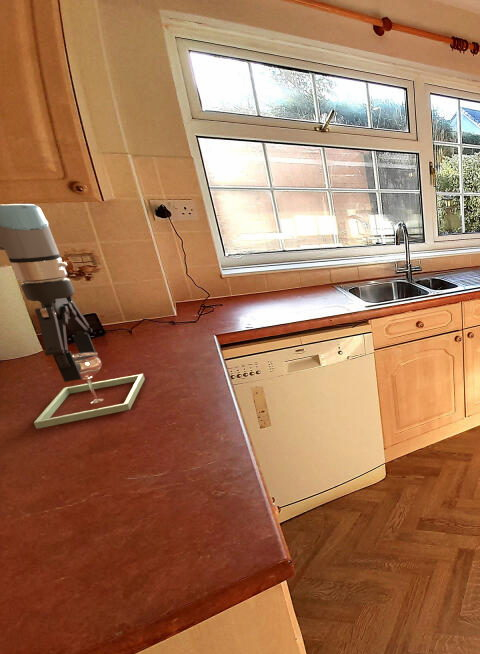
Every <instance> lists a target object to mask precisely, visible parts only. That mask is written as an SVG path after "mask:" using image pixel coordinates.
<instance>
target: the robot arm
mask: <svg viewBox="0 0 480 654" xmlns="http://www.w3.org/2000/svg"><path fill="white" fill-rule="evenodd" d="M49 225H50V224H49V221H48V220H47V218H46V216H45V213H44V212H43V211H42V209H41V207H39V205H37V204H33V203H7V204H3V203H2V204H0V251H5V254H6V256H7V258H8V261H9V263H10V265H11V268H12V270H13V272H14V275H15V277H16V280H17V281H19V282H22V283H21V284H20V288H21V289H22V292H23V295H24V297H25V299H26V300H27V301H30V302H39V303H40V305H41V307H39V308H35V309H34V312H35V314H36V316H37V319H38V323H39V327H40V332H41V337H42V342H43V347H44V351H45V352H44V354H45V356H46V357H49V356H52V357H53V359H54V361H55V363H56V366H57V368H58V370H59V372H60V375H61V377H62V379H63V382H64V383H67V382H73V381H79V380H83V379H82V376H81V374H80V372H79V369H78V367H77V365H76V362H75V360H74V358H73V353H72V351H71V350H70V351H69V347H68V337H67V328H68V330H69V331H70V332H71V333H72V338H73V342H74V344H75V346H76V348H77V351H78V353H84V352H97V351H96V349H95V346H94V344H93V342H92V338H91V336H90V334H89V333H93V328H92V327H90V324H89V323H88V321H87V320H86V318H85V317H84V315H83V314H82V312H81V310H80V309H79V307H78V305H77V304H76V302H75V300H74V298H73V296H74V295H75V294H76V291H75V288H74V286H73V283H72V282H71V279H70V278H69V277H67V276H68V272H67V270H66V268H67V267H68V264H67V262H65V261H64V262H63V259H62V256H61V254H60V252H59V249H58V246H57V243H56V241H55V238H54V236H53V232H52V230H51V228H50V226H49ZM66 327H67V328H66ZM97 357H98V355H97ZM98 358H99V357H98Z"/></svg>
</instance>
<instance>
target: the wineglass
mask: <svg viewBox="0 0 480 654" xmlns="http://www.w3.org/2000/svg"><path fill="white" fill-rule="evenodd" d="M72 355H73V358H74V360H75V362H76V365H77V367H78V369H79V372H80V374H81V376H82V379H81V380H83V381H85V382H86V384H88V386H89V388H90V390H89V391H90V392H91V394H92V396H93V398H94V399H93V400H91V401H90V402H89V403H90V404H98V403H100V402H103V401H104V398H98V396H97V394H96V391H95V389H94V388H93V385H92V383H93V382H92V380H91V379H92V378H93V376H95V375H96V374H98V373H99V372H100V370H101V368H102V365H103V363H102V360H101V359H100V357H97V356H98V355H99V354H98V352H97V351H96V352H84V353H79V352H78V353H72Z"/></svg>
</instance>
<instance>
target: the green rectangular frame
mask: <svg viewBox="0 0 480 654" xmlns="http://www.w3.org/2000/svg"><path fill="white" fill-rule="evenodd" d="M145 380H146V378H145V376H144V373H140V374H135V375H129V376H123V377H118V378H111V379H107V380H101V381H100V380H99V381H94V382H91V383H92V385H93V388H94V390H98V389H103V388H108V387H114V386H118V385H119V386H120V385H125V384H129V383H134V384H133V385H132V387H131V389H130V391H129V393H128V394H127V397H126V398H125V400H124V402H123V403H119V404H115V405H109V406H104V407H100V408H99V407H98V408H95V409H90V410H84V411H80V412H75V413H69V414H64V415H59V416H54V417H52V416H53V414H54V413H55V412H56V411H57V410H58V408H60V406H61V405H62V404H63V402H64V401H65V400H66V399H67V397H69V395H70V394H75V393H81V392H85V391H91V390H90V388H89V386H88V384H87V383H82V384H78V385H77V384H76V385H73V386H67V387H63V388H62V390H60V392H59V393H58V394H57V395H56V397H54V398H53V399H52V401H51V402H50V403H49V404H48V405H47V406H46V408H45V409H44V410H43V411H42V413H40V415H39V416H38V417H37V418H36V419H35V421H34V422H33V424H34V427H35V429H37V430H38V429H42V428H47V427H52V426H57V425H61V424H67V423H72V422H75V421H81V420H86V419H90V418H91V419H92V418H96V417H100V416H106V415H111V414H114V413H119V412H125V411H130V410H131V408H132V406H133V404H134V402H135V400H136V398H137V396H138V394H139V392H140V389H141V388H142V386H143V383H144V382H145Z"/></svg>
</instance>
